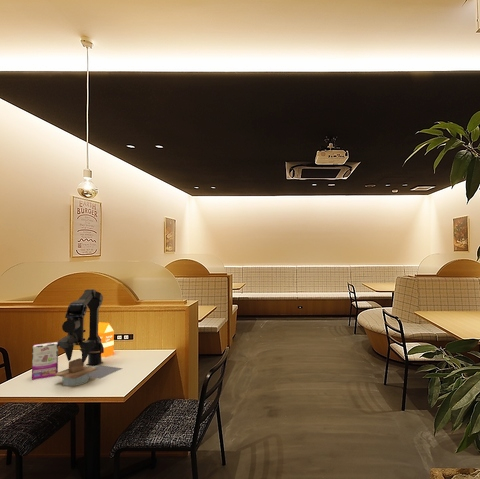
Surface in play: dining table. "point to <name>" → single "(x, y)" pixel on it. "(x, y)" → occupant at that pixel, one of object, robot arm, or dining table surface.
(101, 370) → the mat
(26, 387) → the dining table surface
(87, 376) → the bowl
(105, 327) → the orange juice
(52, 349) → the candy bar box
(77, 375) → the walnut lid
